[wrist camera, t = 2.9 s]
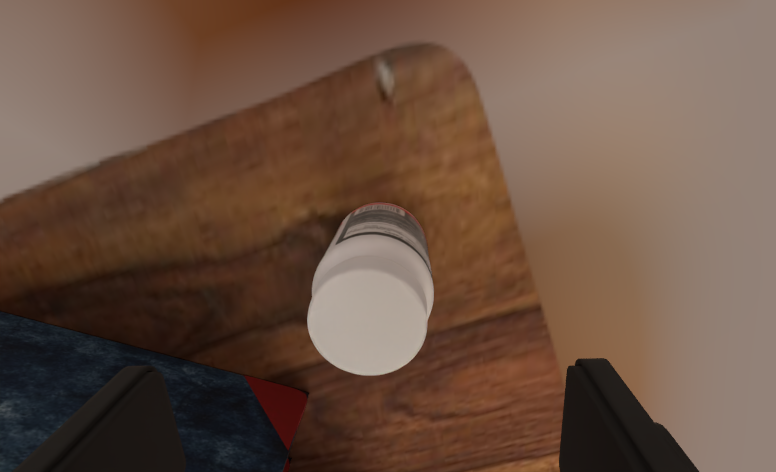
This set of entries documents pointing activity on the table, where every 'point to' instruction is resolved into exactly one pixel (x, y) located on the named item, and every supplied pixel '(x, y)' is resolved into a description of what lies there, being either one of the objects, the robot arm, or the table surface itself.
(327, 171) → the table surface
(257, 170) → the table surface
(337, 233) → the pill bottle
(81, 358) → the book
